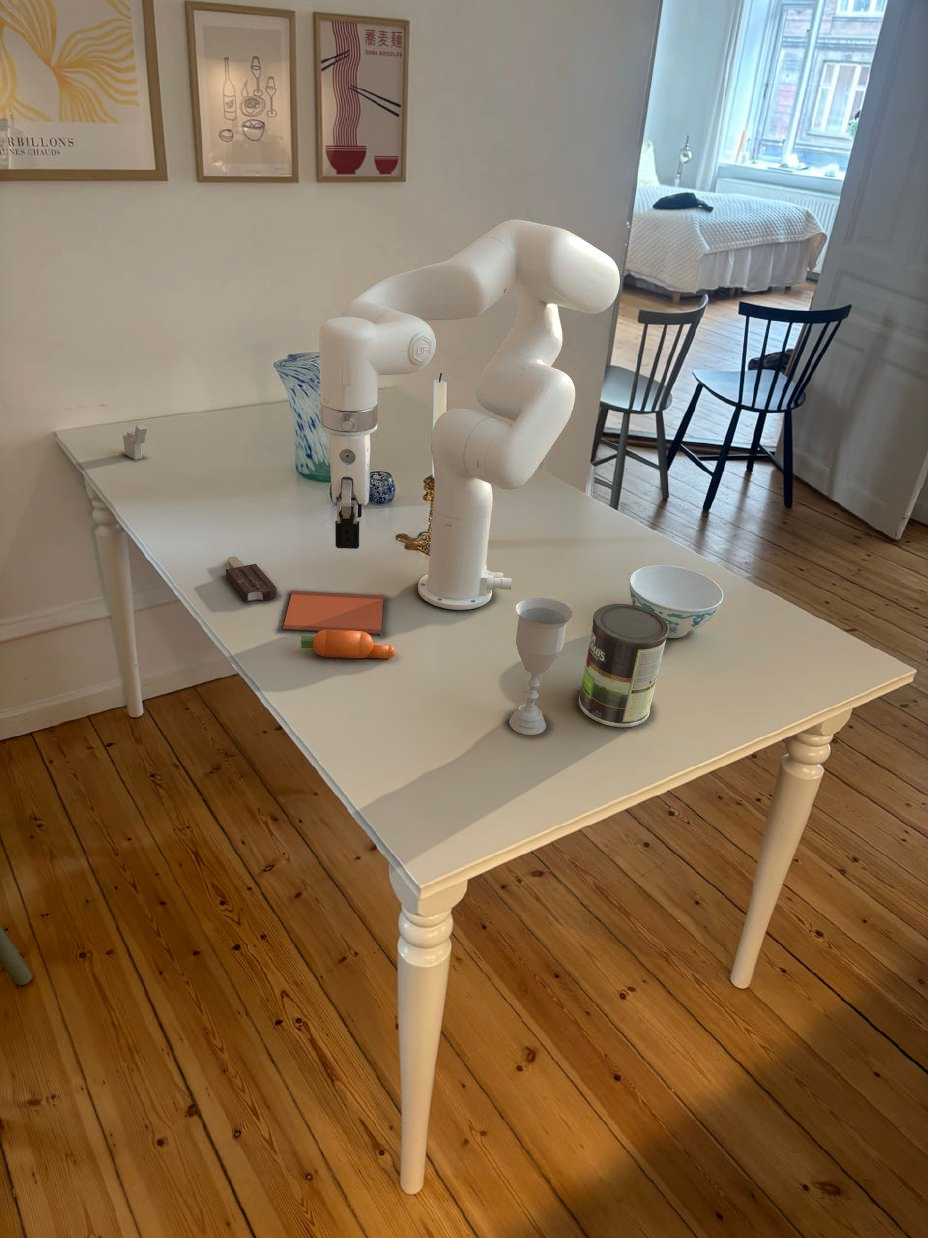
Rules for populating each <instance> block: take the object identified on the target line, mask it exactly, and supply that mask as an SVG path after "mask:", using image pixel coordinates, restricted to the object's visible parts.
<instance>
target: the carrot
mask: <svg viewBox="0 0 928 1238" xmlns="http://www.w3.org/2000/svg"><path fill="white" fill-rule="evenodd" d="M300 648H301V649H308V650H314V652H315V653H316V654H317V655H319V656H321V657H325V658H345V659H347V658H348V659H363V658H370V659H391V658H393V657H394V655H395V654H396V650H395V648H394V646H392V645H390V644H376V643H374V639H373V638H372V635H369V634H368V633H366V632H362V631H346V630H321V631H319V632H316V633H315V635H301V638H300Z"/></svg>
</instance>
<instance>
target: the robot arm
mask: <svg viewBox="0 0 928 1238" xmlns="http://www.w3.org/2000/svg"><path fill="white" fill-rule="evenodd" d="M618 268H619V267H618V266H617V264H616V262H615V260H614V259H613V258H612V257H611V256H610V255H608V254H607V253H605V252H603V251H601V250H600V249H598V248H597V247H595V246H594V245H592V244H590V243H589V242H587V240H584V239H583V238H581V237H579V236H578V235H576V234H574V233H573V232H571V231H569V230H567V229H564V228H562V227H557V226H553V225H548V224H543V223H538V222H533V221H529V220H523V219H509V220H505V221H503V222H501V223H499V224H498V225H496V226H495V227H493V228H492V229H490V230H489V231H487V232H486V233H485V234H483V235H481V236H479V237H478V238H477V239H476V240H474V241H473V242H471V243H470V244H469V245H467V246H466V247H464V248H463V249H461V250H460V251H458V253H456V254H455V255H453V256H451V257H450V258H448V259H446V260H444V261H442V262H437V263H433V264H428V265H425V266H422V267H419V268H415V269H412V270H408V271H404V272H401V273H397V274H394V275H391V276H389V277H385V278H384V279H381V280H380V281H378V282H376V283H375V284H373V285H372V286H370V287H369V288H367V289H365V290H364V291H362V292H361V293H360V294H358V295H357V296H355V297H354V298H352V300H351V301H350V302H349V303H348V304H347V305H346V306H345V307H344V308H343V310H342V311H341V313H340V315H339V316H337V317H333V318H328V319H327V320H325V321H324V322H323V323H321V326H320V328H319V334H318V335H319V337H318V342H319V343H318V346H319V347H318V350H319V352H318V353H319V401H320V402H319V409H320V410H319V411H320V414H319V417H320V428H321V429H322V430H323V431H325V432H327V433H328V434H329V462H330V463H329V466H330V467H329V468H330V485H331V499H332V502H333V504H335V505H336V519H335V521H334V524H335V525H334V527H335V548H336V549H349V550H358V549H359V548H360V520H358V518H359V519H360V518H361V517H362V515H363V512H362V511H363V507H362V506H367V505H369V501H370V491H371V490H370V488H371V434H372V433H374V432H375V431H377V430H378V409H379V408H378V405H379V403H378V400H379V396H378V395H379V377H380V376H389V375H390V376H391V375H392V376H393V375H409V374H414V373H416V372H419V371H421V370H422V369H424V368H426V366H428V365H429V363H430V362H431V361H432V360H433V358H434V355H435V353H436V348H437V340H436V335H435V331H433V329H432V327H431V326H430V325H429V324H428V322H426V321H457V320H465V319H466V320H467V319H472V318H475V317H478V316H480V315H482V314H483V313H484V312H485V311H487V310H488V309H489V308H491V307H492V306H493V305H495V304H496V303H497V302H499V301H500V300H501V299H503V298H504V297H505V296H507V295H508V294H509V293H510V292H512V291H514V289H516V293H517V294H516V297H517V298H516V299H517V304H516V305H517V307H516V316H515V320H514V322H513V325H512V326H511V328H510V330H509V332H508V334H507V335H506V336H505V338H504V339H503V341H502V342H501V344H500V346H499V347H498V348H497V350H496V351H495V353H494V354H493V355H492V357H491V358H490V360H489V361H488V363H487V365H486V366H485V368H484V369H483V371H482V373H481V374H480V376H479V377H478V379H477V382H476V385H475V388H474V395H475V399H476V401H477V403H478V405H480V406H481V408H483V409H484V410H486V411H488V412H489V413H491V414H494V415H495V416H497V417H500V418H503V419H505V420H509V421H511V422H514V423H510V422H507V421H505V420H502V419H499V418H497V417H495V416H493V415H490V414H486V413H484V412H481V411H479V410H475V409H472V408H467V407H453V408H451V409H448V410H446V411H444V412H443V413H442V414H441V415H439V417H438V418H437V419H436V421H435V423H434V425H433V427H432V431H431V437H430V444H431V445H430V448H431V457H432V464H433V475H434V482H433V483H434V484H433V485H434V486H433V487H434V488H433V503H432V515H431V527H430V528H431V529H430V544H429V556H428V571H427V573H426V574H424V575H422V576H421V578H420V579H419V580H418V584H417V592H418V594H419V596H420V597H421V598H422V599H423V600H424V601H426V602H427V603H429V604H431V605H433V606H435V607H438V608H442V609H447V610H452V611H454V610H455V611H465V610H473V609H478V608H479V607H482V606H485V605H486V604H487V603H489V601H491V599H492V596H493V589H499V590H509V591H510V590H512V587H513V579H512V578H511V577H504V572H500V571H499V572H498V571H496V572H494V571H493V572H492V571H490V570H488V567H487V556H488V548H489V538H490V537H489V536H490V528H491V519H492V512H493V502H494V499H493V498H494V496H493V489H492V486H494V487H497V488H499V489H502V490H508V491H511V490H513V491H514V490H517V489H519V488H520V487H522V486H524V485H525V484H526V483H527V482H528V481H529V480H530V479H531V478H532V476H533V475H534V474H535V472H536V471H537V469H538V468H539V466H540V465H541V463H542V462H543V460H544V459H545V457H546V456H547V454H548V453H549V451H550V450H551V449H552V447H553V445H554V444H555V442H556V441H557V439H558V438H559V436H560V435H561V433H562V432H563V430H564V428H565V427H566V426H567V424H568V422H569V420H570V418H571V416H572V412H573V410H574V406H575V401H576V388H575V384H574V382H573V379H571V377H570V376H569V375H568V374H567V373H566V372H564V371H562V370H561V369H558V368H556V367H553V364H554V363H555V361H556V359H557V358H558V356H559V354H560V353H561V351H562V346H563V340H564V339H563V330H562V325H561V324H562V323H561V319H560V315H559V309H558V307H562V308H565V309H569V310H573V311H577V312H581V313H584V314H590V315H596V314H601V313H603V312H605V311H606V310H607V309H609V308H610V307H611V305H612V304H613V303H614V302H615V300H616V299H617V296H618V294H619V290H620V284H621V278H620V271H619V269H618Z"/></svg>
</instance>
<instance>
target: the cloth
mask: <svg viewBox="0 0 928 1238" xmlns="http://www.w3.org/2000/svg"><path fill="white" fill-rule="evenodd" d="M383 607H384V595H379V594H377V595H376V594H359V593H358V594H357V593H343V592H342V593H339V592H323V591H321V592H320V591H302V590H292V591H291V595H290V599H289V603H288V607H287V611H286V615H285V619H284V623H283V627H282V631H289V632H290V631H291V632H307V633H308V632H309V633H318V632H319V631H321V630H346V631H362V632H366V633H368V634H369V635H370V636H381V635H382V634H381V633H382V621H383V609H384V608H383Z"/></svg>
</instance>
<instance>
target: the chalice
mask: <svg viewBox="0 0 928 1238" xmlns="http://www.w3.org/2000/svg"><path fill="white" fill-rule="evenodd" d="M515 611H516V613H517V616H518V621H517V628H516V636H515V644H516V649H517V652H518V655H519V658H520V660H521V662H522V664H523V667H524V669H525V671H526V672H528V673H530V678H529V680H528V681H527V683H526V684H527V685H528V690H527V691H526V692H525V693H524V695H525V697H526V699H527V700H526V701H527V702H526V703H524V704H522V705H520V706H518V707H517V708H516V709H515V711H514V713H513V714H512V715H511V717H510V718H509V721H508V723H509V726H510V728H511V729H512V730H514V731H515V732H516V733H519V734H522V735H525V736H535V735H539V734H542V733H543V732H544V731H546V729H547V723H546V721H545V717H544V715H543V711H542V710H541V709H540V707H538V706H537V705H535V701H536V699H537V698H539V693H538V692H537V688H538V687H539V686H540V684H541V683H540V681H539V676H540V675H542V674H544V673H546V672H547V671H548V669H549V668H550V667H551V666H552V665H553V664H554V662H555V661H556V659H557V658H558V657H559V655H560V653H561V652H562V650H563V648H564V644H565V638H566V631H567V624H568V622H569V621H570V620H571V619H572V618H573V611H572V608H571V607H569V606H568V605H567V604H566V603H563V602H561V601H559V600H556V599H552V598H547V597H530V598H525V599H523V600H521V601H518V603H517V604H516V606H515Z"/></svg>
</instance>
